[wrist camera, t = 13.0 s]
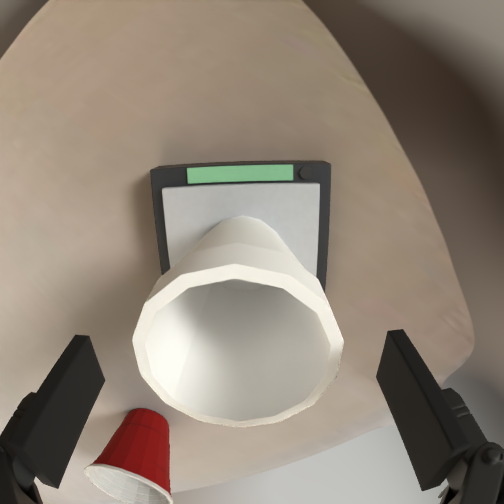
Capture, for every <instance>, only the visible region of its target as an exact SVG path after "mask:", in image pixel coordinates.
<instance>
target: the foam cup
mask: <svg viewBox="0 0 504 504" xmlns="http://www.w3.org/2000/svg"><path fill="white" fill-rule="evenodd" d="M132 342H133V346H134V350H135V355H136V359H137V363H138V367H139V370H140V374H141V376H142V377H143V378H144V379H145V381H146V382H147V383H148V384H149V385H150V386H151V388H152V389H153V390H154V391H155V392H156V393H157V394H158V396H159V397H160V398H161V399H162V400H163V401H164V402H165V403H166V404H168V405H170V406H171V407H173V408H175V409H177V410H179V411H181V412H183V413H185V414H187V415H188V416H190V417H192V418H194V419H196V420H198V421H201V422H207V423H212V424H218V425H224V426H231V427H237V428H241V427H249V426H257V425H264V424H270V423H277V422H280V421H282V420H284V419H286V418H288V417H290V416H292V415H294V414H296V413H298V412H300V411H302V410H304V409H306V408H308V407H310V406H312V405H313V404H314V403H315V402H316V401H317V400H318V399H319V397H320V396H321V395H322V394H323V393H324V392H325V390H326V389H327V388H328V387H329V386H330V385H331V383H332V382H333V381H334V380H335V379H336V377H337V374H338V369H339V365H340V360H341V355H342V350H343V345H344V340H343V338H342V335H341V333H340V330H339V328H338V325H337V323H336V320H335V318H334V315H333V313H332V310H331V308H330V305H329V303H328V301H327V298H326V296H325V294H324V291H323V289H322V287H321V284H320V282H319V280H318V279H317V278H316V277H315V276H313V275H312V274H311V273H310V272H308V271H307V270H306V269H305V268H304V267H303V266H302V264H301V263H300V262H299V261H298V259H297V258H296V257H295V255H294V254H293V253H292V252H291V250H290V249H289V248H288V247H287V245H286V244H285V243H284V241H283V240H282V239H281V238H280V236H279V235H278V234H277V233H276V232H275V230H273V229H272V228H271V227H269V226H268V225H267V224H266V223H264V222H263V221H262V220H260V219H256V218H252V217H247V216H243V215H242V216H238V217H233V218H229V219H224V220H223V221H222V222H220V223H219V224H218V225H217V226H215V227H214V228H213V229H212V230H210V231H209V232H208V233H207V234H206V235H205V236H204V237H203V238H202V239H201V240H200V241H199V242H198V243H197V245H196V246H195V247H194V248H193V249H192V250H191V251H190V252H189V253H188V254H187V255H186V256H185V257H184V258H183V259H182V260H181V261H180V262H178V263H177V264H176V265H175V266H173V267H172V268H171V269H170V270H168V271H167V272H166V273H165V274H164V275H162V276H161V277H160V278H159V279H158V280H157V282H156V284H155V286H154V287H153V289H152V291H151V293H150V295H149V296H148V298H147V300H146V302H145V304H144V307H143V309H142V312H141V315H140V318H139V321H138V324H137V327H136V329H135V332H134V335H133V338H132Z"/></svg>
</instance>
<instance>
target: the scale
mask: <svg viewBox="0 0 504 504" xmlns="http://www.w3.org/2000/svg"><path fill="white" fill-rule="evenodd" d="M150 172H151V184H152V195H153V205H154V215H155V224H156V233H157V241H158V249H159V257H160V264H161V271H162V275H164V274H165V273H166V272H167V271H168V270H170V269H171V268H172V267H173V266H175V265H176V264H177V263H178V262H180V261H181V260H182V259H183V258H184V257H185V256H186V255H187V254H188V253H189V252H190V251H191V250H192V249H193V248H194V247H195V246H196V245H197V243H198V242H199V241H200V240H201V239H202V238H203V237H204V236H205V235H206V234H207V233H208V232H209V231H210V230H212V229H213V228H214V227H215V226H217V225H218V224H219V223H220V222H222V221H223V220H224V219H229V218H233V217H238V216H242V215H243V216H247V217H252V218H256V219H260V220H262V221H263V222H264V223H266V224H267V225H268V226H269V227H271V228H272V229H273V230H275V232H276V233H277V234H278V235H279V236H280V238H281V239H282V240H283V241H284V243H285V244H286V245H287V247H288V248H289V249H290V250H291V252H292V253H293V254H294V255H295V257H296V258H297V259H298V261H299V262H300V263H301V264H302V266H303V267H304V268H305V269H306V270H307V271H308V272H310V273H311V274H312V275H313V276H315V277H316V278H317V279H318V280H319V282H320V284H321V287H322V289H323V291H324V294H325V284H326V271H327V255H328V238H329V217H330V188H331V164H330V163H327V162H325V161H238V162H214V163H196V164H181V165H167V166H158V167H156V168H154V169H151V170H150Z"/></svg>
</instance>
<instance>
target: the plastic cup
mask: <svg viewBox="0 0 504 504" xmlns="http://www.w3.org/2000/svg"><path fill="white" fill-rule="evenodd" d="M169 460H170V445H169V425H168V423H167V420H166V419H165V418H164V417H163V416H162V415H160V414H158V413H156V412H155V411H152V410H148V409H141V408H138V409H134V410H132V411H131V412H130V413H129V414H128V415H127V416H126V417H125V419H124V421H123V422H122V424H121V425H120V427H119V428H118V429H117V430H116V432H115V433H114V435H113V437H112V438H111V440H110V441H109V443H108V444H107V446H106V447H105V449H104V450H103V452H102V453H101V455H99V457H98V458H97V460H95V461H94V462H93V464H90V465H89V466H87V467H86V468H85V469H84V471H85V476H86V477H87V478H88V479H89V480H90V482H91V483H92V484H93V485H95V486H96V487H98V488H99V489H100V490H102V491H103V492H105V493H106V494H108V495H110V496H112V497H114V498H116V499H118V500H120V501H123V502H125V503H128V504H173V499H172V497H171V493H170V489H171V488H170V479H169Z"/></svg>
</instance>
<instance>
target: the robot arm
mask: <svg viewBox="0 0 504 504" xmlns="http://www.w3.org/2000/svg"><path fill="white" fill-rule="evenodd" d="M376 378H377V381H378V383H379V385H380V387H381V390H382V392H383V394H384V397H385V399H386V401H387V404H388V406H389V408H390V411H391V413H392V416H393V418H394V420H395V423H396V425H397V428H398V430H399V432H400V435H401V438H402V440H403V443H404V445H405V448H406V450H407V453H408V455H409V458H410V460H411V463H412V466H413V468H414V471H415V474H416V476H417V479H418V482H419V484H420V487H421V490H422V491H425V490H428V489H431V488H434V487H437V486H440V485H441V483H442V482H443V481H444V480H445V479H446V478H447V481H448V483H449V485H448V486H447V487H446V488H445V489H444V490H443V491H442V492H441V494H440V495H439V496H438V498H441V497H442V496H443V497H442V499H441V502H440V504H504V449H503V448H502V447H501V446H500V445H498V444H496V443H493V442H488V441H487V439H486V438H485V436H484V434H483V433H482V431H481V429H480V427H479V426H478V424H477V423H476V421H475V419H474V417H473V416H472V414H470V411H469V409H468V408H467V407H466V404H465V403H464V401H463V399H462V398H461V396H460V395H459V394H458V393H457V392H455V391H454V390H453V389H451V388H448V389H444V390H441V389H440V387H439V385H438V384H437V382H436V380H435V379H434V377H433V375H432V374H431V372H430V371H429V369H428V367H427V366H426V364H425V363H424V361H423V359H422V358H421V356H420V355H419V353H418V352H417V350H416V348H415V347H414V345H413V344H412V342H411V341H410V339H409V338H408V336H407V335H406V333H405V332H404V330H403V329H401V330H392V331H388V332H387V336H386V340H385V345H384V349H383V353H382V357H381V360H380V364H379V368H378V372H377V375H376ZM104 382H105V378H104V376H103V373H102V371H101V368H100V365H99V363H98V360H97V357H96V354H95V352H94V349H93V346H92V343H91V340H90V337H89V336H85V335H75V336H74V337H73V339H72V340H71V342H70V343H69V345H68V346H67V347H66V349H65V350H64V352H63V353H62V355H61V356H60V358H59V359H58V361H57V362H56V364H55V365H54V367H53V368H52V370H51V371H50V373H49V374H48V376H47V377H46V379H45V380H44V382H43V383H42V385H41V386H40V388H39V390H38V391H37V393H34V392H31V393H29V394H28V395H27V396H26V397H25V398H23V399H22V401H21V403H20V404H19V406H18V407H17V409H16V411H15V412H14V414H13V416H12V417H11V419H10V420H9V422H8V424H7V425H6V427H5V429H4V430H3V432H2V434H1V435H0V504H43V502H42V500H41V497H40V494H39V491H38V488H37V486H36V484H35V482H34V479H35V476H36V477H37V478H38V479H39V480H40V481H41V482H42V483H43V484H46V485H48V486H51V487H54V488H57V489H58V488H59V485H60V483H61V480H62V478H63V475H64V473H65V470H66V468H67V465H68V463H69V460H70V458H71V456H72V453H73V451H74V448H75V446H76V444H77V441H78V439H79V437H80V434H81V432H82V430H83V428H84V425H85V423H86V421H87V419H88V416H89V414H90V412H91V410H92V408H93V405H94V403H95V401H96V399H97V397H98V395H99V393H100V390H101V388H102V386H103V384H104Z"/></svg>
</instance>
